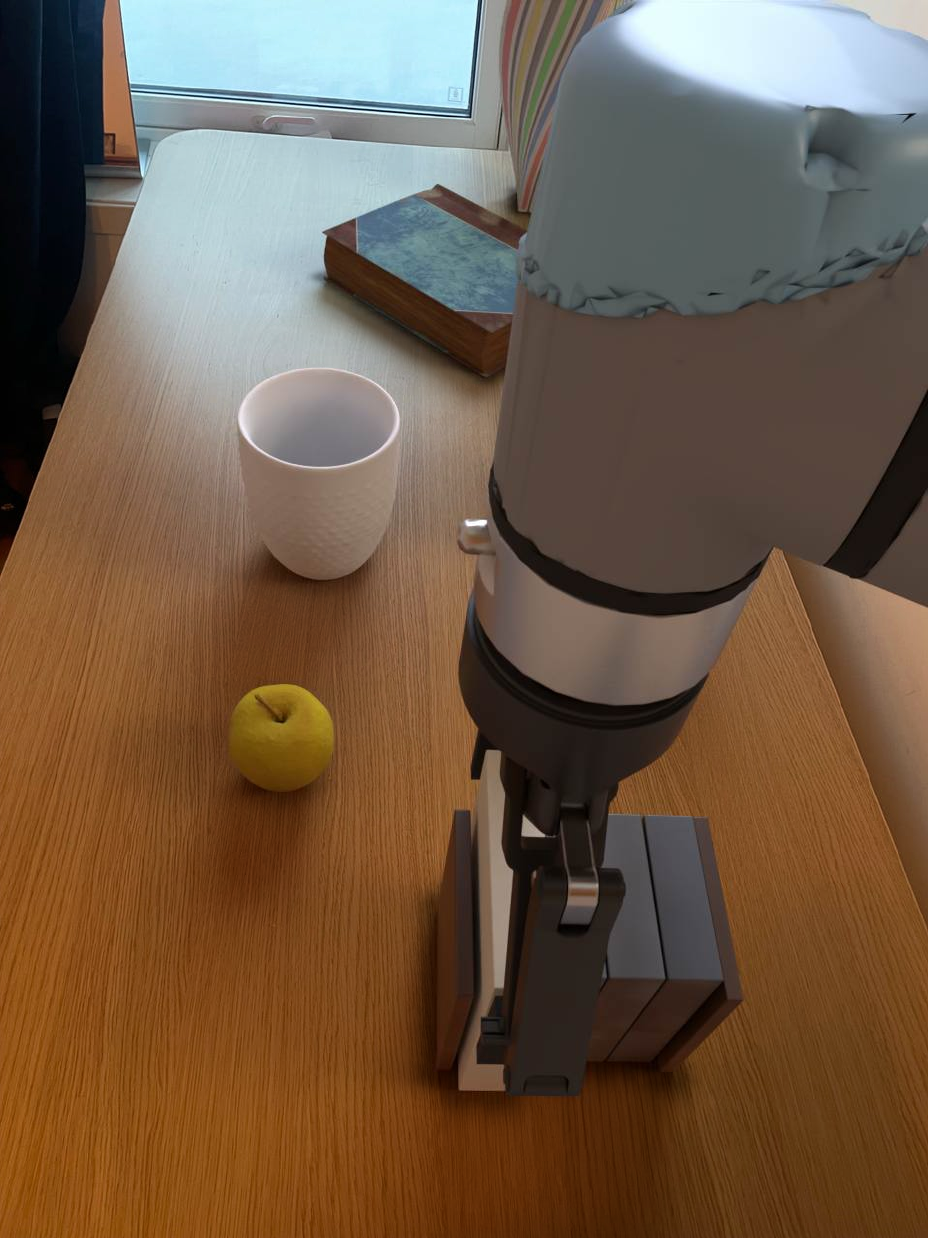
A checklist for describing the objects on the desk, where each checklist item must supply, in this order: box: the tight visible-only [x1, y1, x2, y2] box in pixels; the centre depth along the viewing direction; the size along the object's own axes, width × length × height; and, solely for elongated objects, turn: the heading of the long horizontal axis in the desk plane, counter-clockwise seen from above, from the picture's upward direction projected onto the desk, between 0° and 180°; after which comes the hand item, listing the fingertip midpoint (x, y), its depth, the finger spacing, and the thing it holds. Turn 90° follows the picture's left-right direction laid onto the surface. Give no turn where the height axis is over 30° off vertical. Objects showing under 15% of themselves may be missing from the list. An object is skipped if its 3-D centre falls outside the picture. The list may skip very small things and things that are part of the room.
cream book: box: [457, 750, 545, 1092], centre depth 47 cm, size 2×11×16 cm, turn 1°
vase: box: [498, 0, 631, 213], centre depth 101 cm, size 14×14×30 cm
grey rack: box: [436, 808, 745, 1073], centre depth 48 cm, size 13×9×13 cm
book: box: [321, 183, 528, 378], centre depth 96 cm, size 23×18×5 cm
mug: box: [236, 367, 401, 581], centre depth 69 cm, size 15×11×13 cm
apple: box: [228, 683, 335, 793], centre depth 57 cm, size 6×6×8 cm
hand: (501, 901), depth 44 cm, fingers open, 13 cm apart
